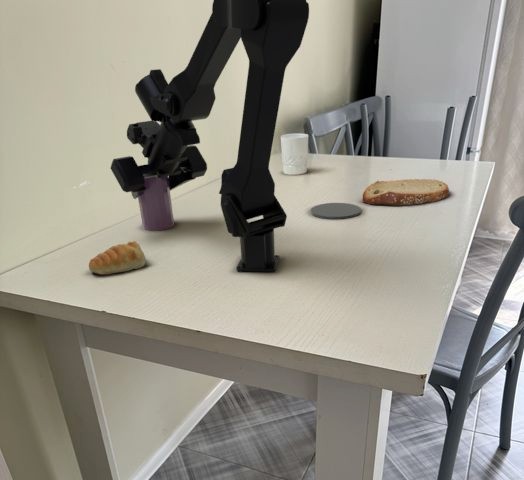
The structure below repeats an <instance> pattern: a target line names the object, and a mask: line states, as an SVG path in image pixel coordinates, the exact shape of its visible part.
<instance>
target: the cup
mask: <svg viewBox="0 0 524 480" xmlns="http://www.w3.org/2000/svg"><path fill="white" fill-rule="evenodd" d="M168 177H169V176H167V177H162V178H158V176H156V177H151V178H146V179H145V180H144V181H145V184H144V186H145V188H146V190H145V191H144V192H143V193H142V194H141V195H140V196H139V197H138V198H137V199H138V206H139V211H140V217H141V223H142V228H143V229H144V230H146V231H153V232H154V231H162V230H167V229H171V228H172V227H174V226H175V217H174V212H173V203H172V197H171V191H170V188H169V181H168Z"/></svg>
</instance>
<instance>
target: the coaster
mask: <svg viewBox="0 0 524 480" xmlns="http://www.w3.org/2000/svg"><path fill="white" fill-rule="evenodd" d="M361 213H362V208H361V207H360V206H358V205H356V204H352V203H347V202H346V203H345V202H328V203H321V204H317V205H315V206H312V207H311V208H310V214H311V215H312V216H313V217H316V218H320V219H325V220H344V219H350V218H351V219H352V218H354V217H357V216H359V215H360V214H361Z"/></svg>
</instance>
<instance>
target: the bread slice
mask: <svg viewBox="0 0 524 480" xmlns="http://www.w3.org/2000/svg"><path fill="white" fill-rule="evenodd" d="M449 195H450V188H449V186H448V184H447V183H445V182H444V181H442V180H439V179H433V178H432V179H429V178H428V179H426V178H422V179H419V178H412V179H411V178H409V179H397V180H376V181H375V182H372V183H371V184H370V185H368V186H367V187H366V188H365V190H364V191H363V192H362V202H363V203H365V204H369V205H373V206H375V205H378V206H379V205H381V206H399V207H400V206H412V205H413V206H414V205H423V204H425V203H426V204H427V203H432V202H437V201H441V200H443V199H446V198H447V197H448V196H449Z"/></svg>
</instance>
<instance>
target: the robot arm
mask: <svg viewBox="0 0 524 480" xmlns="http://www.w3.org/2000/svg"><path fill="white" fill-rule="evenodd" d="M211 8H212V9H211V14H210V16H209V19H208V21H207V22H206V25H205V27H204V29H203V31H202V34H201V36H200V38H199V39H198V42H197V44H196V47H195V49H194V51H193V52H192V55H191V57H190V60H188V61H189V62H188V64H187V65H186V67H185V68H184V69H183V70H182V71H181V72H179V73H178V74H176V75H174V76H173V77H172V78H171V80H170V81H169V83H168V81H167V79H166V76H165V74H164V73H163V70H161V68H159V69H158V68H157V69H150V71H149V74H147V75H145V76H144V77H142V78H141V79H140V80H139V81H138V82H137V83H136V84H135V87H134V91H135V94H136V96H137V98H138V99H139V101H140V103H141V105H142V106H143V108H144V111H146V113H147V115H148V117H149V118H150V120H146V121H139V122H135V123H129V124H128V127H127V129H126V137H127V139H128V141H129V142H130V143H131V144H132V145H139V146H140V147H141V148H142V151H141V154H142V155H143V156H144V157H143V158H147V164H141V165H138V163H137V162H136V160H135V158H134V157H133V156H131V155H127V156H123V157H116V158H113V159H112V161H111V165H110V170H111V172H112V174H113V176H114V178H115V179H116V182H117V183H118V186H120V189H121V190H122V192H125V193H131V196H132V198H133V199H134V200H136V199H138V197H139V196H140V195H141V194H142V193H143V192H144V191H145V190H146V188H145V186H144V184H145V181H144V180H145V179H146V178H151V177H156V176H158V178H162V177H167V176H168V181H169V188H170V192H171V191H173V190H175V189H177V188H178V187H180V186H182V185H184V184H186V183H188V182H191V181H193V180H196V179H197V178H200V177H204V176H205V174H206V172H207V170H208V163H207V161H206V160H205V158H204V156H203V154H202V153H201V151H200V149H199V148H198V147H197V145H199V144H201V138H200V134H198V132H197V128H196V125H195V124H194V123H193V121H199V120H200V121H201V120H206V119H208V118H209V117H210V114H211V112H212V109H213V108H214V107H213V106H214V104H215V101H216V99H217V98H216V93H215V86H216V84H217V82H218V80H219V78H220V76H221V75H222V73H223V71H224V69H225V68H226V65H227V63H228V62H229V60H230V58H231V56H232V54H233V53H234V51H235V49H236V48H237V45H238V44H239V42H240V41H241V42H242V45H243V48H244V50H245V54H246V55H247V58H248V69H247V76H246V78H247V79H246V85H245V93H244V94H245V95H244V102H243V108H242V109H243V110H242V119H241V125H240V134H239V142H238V149H237V158H236V163H235V164H234V166H233V167H230V168H225V169H223V170H222V172H221V177H220V179H221V183H220V184H221V185H220V189H219V192H218V194H219V195H220V208H221V212H222V215H223V219H224V222H225V226H226V229H227V232H228V234H231V237H234V238H239V243H240V244H239V246H240V260H239V262H238V264H237V266H236V271H237V272H265V273H266V272H276V269H277V267H278V264H279V260H280V255H278V254H276V251H275V248H276V247H275V246H276V245H275V229H278V228H283V227H285V226H286V222H287V218H288V215H287V212H286V211H285V210H284V208H283V207H282V204H280V202H279V200H278V198H277V197H276V195H275V191H276V184H275V181H274V178H273V176H272V174H271V171H270V161H271V155H272V149H273V145H274V144H273V143H274V137H275V131H276V126H277V120H278V114H279V108H280V103H281V96H282V91H283V86H284V85H283V84H284V79H285V72H286V69H287V67H288V65H289V63H290V62H291V61H292V59H293V58H294V56H295V55H296V53H297V52H298V50H299V49H300V48H301V46H302V42H303V38H304V36H305V33H306V29H307V25H308V23H309V17H310V4H309V2H308V1H307V0H213V2H212V7H211ZM258 217H262V218H260V219H256V220H252V221H249V222H248V220H251V219H254V218H258Z"/></svg>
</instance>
